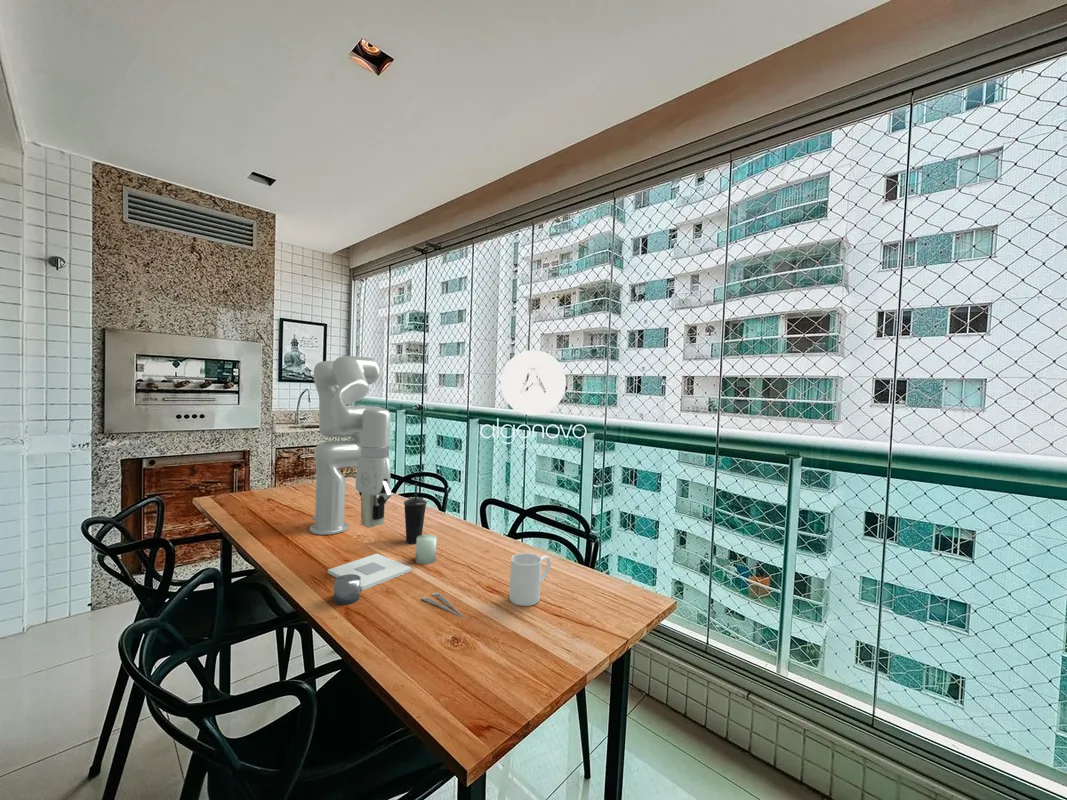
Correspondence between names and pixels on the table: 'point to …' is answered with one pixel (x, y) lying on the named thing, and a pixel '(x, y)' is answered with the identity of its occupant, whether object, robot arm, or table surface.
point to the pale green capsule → (426, 549)
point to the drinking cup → (414, 517)
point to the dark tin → (347, 589)
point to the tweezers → (442, 605)
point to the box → (369, 511)
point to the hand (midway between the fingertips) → (372, 516)
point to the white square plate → (371, 570)
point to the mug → (526, 578)
